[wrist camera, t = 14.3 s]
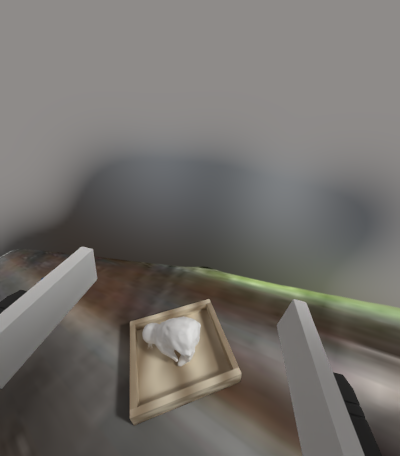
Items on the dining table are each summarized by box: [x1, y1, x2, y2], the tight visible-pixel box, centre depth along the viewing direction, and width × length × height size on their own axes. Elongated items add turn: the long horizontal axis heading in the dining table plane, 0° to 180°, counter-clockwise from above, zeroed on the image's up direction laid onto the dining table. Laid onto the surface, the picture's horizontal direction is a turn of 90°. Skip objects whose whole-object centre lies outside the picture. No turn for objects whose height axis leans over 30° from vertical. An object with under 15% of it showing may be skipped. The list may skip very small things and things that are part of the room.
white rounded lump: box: [142, 316, 201, 366], centre depth 37 cm, size 6×8×12 cm
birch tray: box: [130, 299, 241, 425], centre depth 38 cm, size 18×16×3 cm
